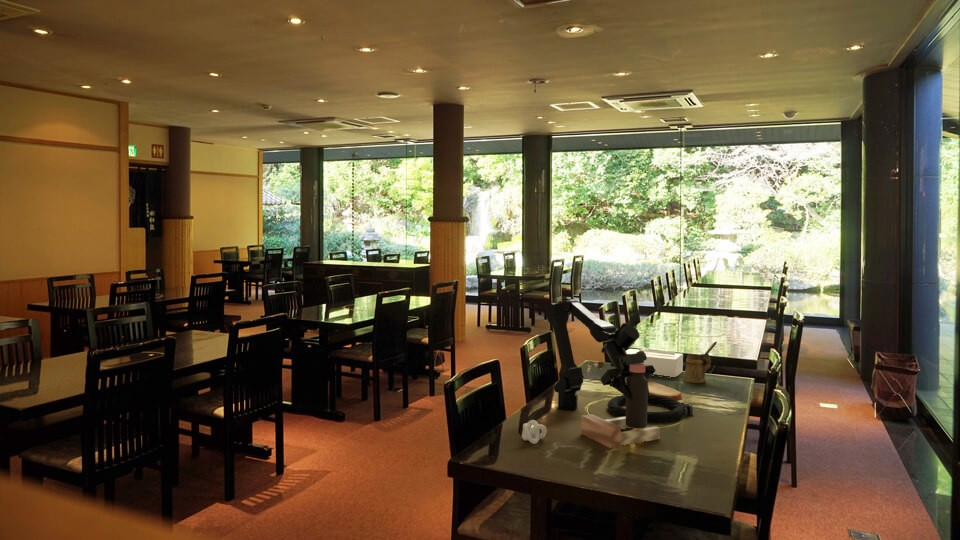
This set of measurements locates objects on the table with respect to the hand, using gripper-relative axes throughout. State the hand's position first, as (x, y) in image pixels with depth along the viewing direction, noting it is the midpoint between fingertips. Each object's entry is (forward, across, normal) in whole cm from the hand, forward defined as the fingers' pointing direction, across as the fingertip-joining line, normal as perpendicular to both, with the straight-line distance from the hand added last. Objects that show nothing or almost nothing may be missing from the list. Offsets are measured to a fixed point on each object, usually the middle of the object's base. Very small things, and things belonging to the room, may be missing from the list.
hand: (639, 397), depth 202 cm
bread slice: (-17, +40, +35) cm, 56 cm away
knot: (+2, -34, +16) cm, 38 cm away
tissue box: (-39, +65, +58) cm, 95 cm away
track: (+8, -7, +9) cm, 14 cm away
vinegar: (+6, 0, +8) cm, 10 cm away
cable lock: (-4, +20, +22) cm, 30 cm away
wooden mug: (-22, +71, +40) cm, 84 cm away
